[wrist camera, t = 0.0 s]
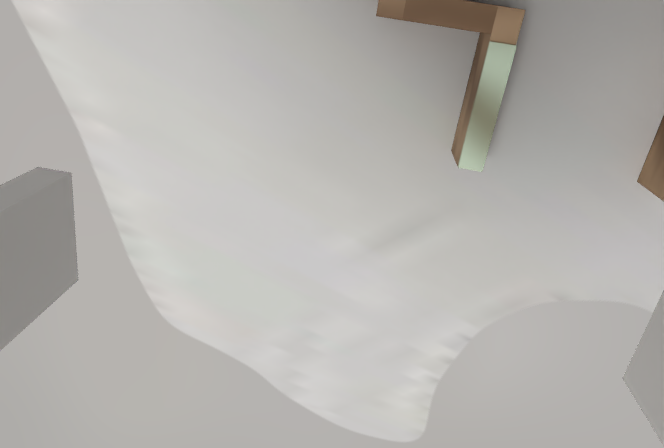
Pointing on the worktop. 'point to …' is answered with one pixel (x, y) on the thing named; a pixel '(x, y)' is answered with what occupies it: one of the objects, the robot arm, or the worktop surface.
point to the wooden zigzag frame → (493, 76)
